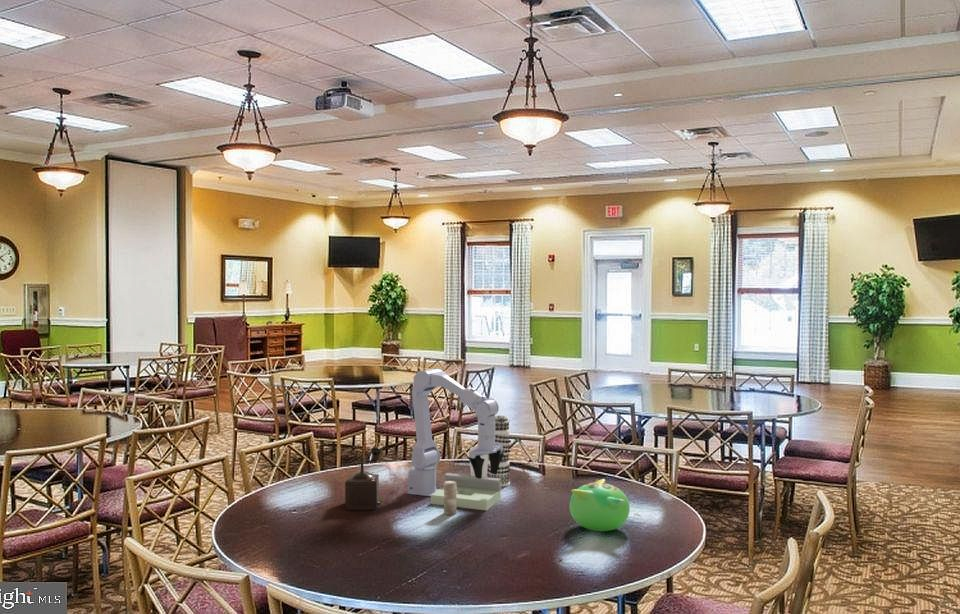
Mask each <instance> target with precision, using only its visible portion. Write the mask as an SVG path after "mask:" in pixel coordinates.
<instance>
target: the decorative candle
mask: <svg viewBox="0 0 960 614" xmlns="http://www.w3.org/2000/svg"><path fill="white" fill-rule="evenodd" d="M511 438H512V436H511V435H510V420H509V419H508V417H507V416H505V415H495V445H502V446H503V451H502V452H501V453H504V456H503V458H502V459H501V462H500V464H499V467H498V471H497V474H492V473H491V467H490V458H489V457H488V470H487V477H489V478H499V479H501V488H502V487H507V486H509V485H511V482H510V481H511V479H510V477H511V474H510V471H511V469H510V467H511V465H510V459H509V458H510V453H511V451H512V450H511V447H512V446H511V445H510V443H512V441H511V440H510V439H511Z"/></svg>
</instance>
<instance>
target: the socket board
mask: <svg viewBox="0 0 960 614" xmlns="http://www.w3.org/2000/svg"><path fill="white" fill-rule="evenodd" d="M444 478H446V479H445V482H446V481H455V482H456V483H457V487H456V508H463V509H472V510H479V511H488V510H489V509H490V508H491V507H492V506H494V505H495V504H496V503H498V502H499V501H500V500H501V491H502V489H501V488H502V487H501V479H499V478H489V477H488V476H487V477H481V479H479V478H476V477H475V476H471V474H470V475H469V474H459V473H450V472H447V473H445V474H444ZM438 489H439V490H438V491H436V492H435V493H433V494H432V495H431V496H430V504H432V505H438V506H439V505H440V506H444V486H443V487H440V488H438Z"/></svg>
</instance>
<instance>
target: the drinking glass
mask: <svg viewBox="0 0 960 614" xmlns="http://www.w3.org/2000/svg"><path fill="white" fill-rule="evenodd" d="M477 448H478V445H477V446H476V445H475V446H471V447H470V448H469V452H470V451H473V450H475V449H477ZM480 457H481V458H482V459H485V460H484V463H483V467H482V477H488V476H487V474H488V460H489V454H487V455H482V456H480ZM469 469H470V476H475V473H474V469H473V466H472V464H471V462H470V461H469Z"/></svg>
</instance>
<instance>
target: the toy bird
mask: <svg viewBox="0 0 960 614" xmlns="http://www.w3.org/2000/svg"><path fill="white" fill-rule="evenodd" d="M570 491H571V493H572V494H571V497H570V499H569V513H570V514H571V517H572V518H573V520H574V521H575V522H576V523H577V524H578V526H579V525H580V526H581V527H582V528H585V529H587V530H590V531H593V532H594V531H595V532H609V531H613V530H616V529H618V528H620V527H621V526H623V525H624V524H625V523H626V521H627V519H628V517H629V515H630V502H629V499H628V497H627V495H626V494H625V492H623V490H621V489H620V488H618V487H617V486H615V485H612V484H609V483H606V479H605V478H601V479H598V480H596V481H594V482H590V483H586V484H584V485H580V486H579V487H577V488H576V489H570Z"/></svg>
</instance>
